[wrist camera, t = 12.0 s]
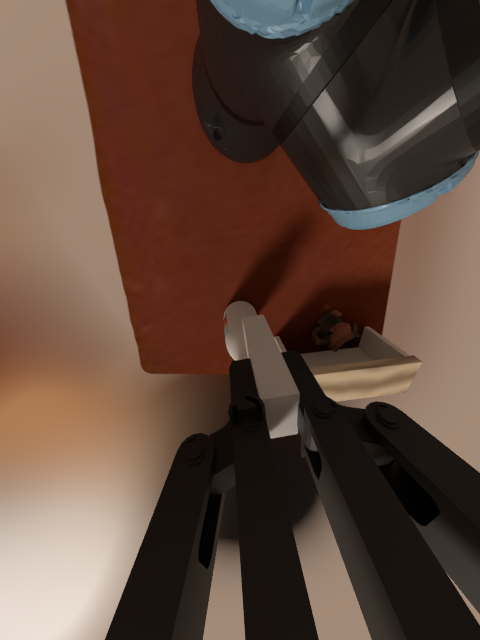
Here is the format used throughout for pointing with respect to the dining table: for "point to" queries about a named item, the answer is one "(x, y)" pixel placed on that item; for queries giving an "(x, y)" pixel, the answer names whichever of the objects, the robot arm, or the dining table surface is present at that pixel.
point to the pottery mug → (334, 332)
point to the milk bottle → (237, 328)
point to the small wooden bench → (362, 368)
